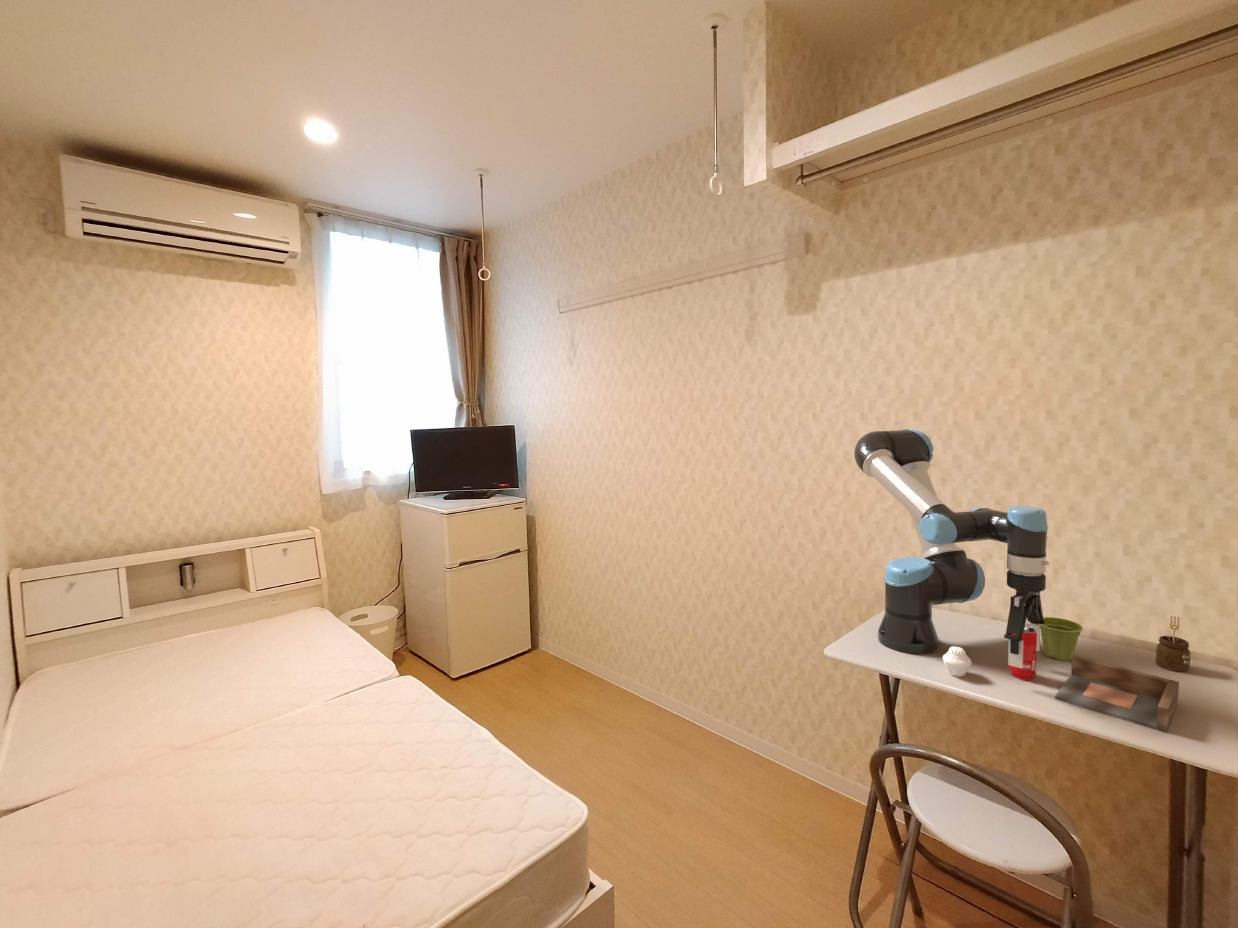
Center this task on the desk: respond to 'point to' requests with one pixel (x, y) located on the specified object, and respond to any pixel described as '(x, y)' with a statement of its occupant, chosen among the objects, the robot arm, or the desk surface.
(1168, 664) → the utensil holder
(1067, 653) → the plant pot
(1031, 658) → the beverage can
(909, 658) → the desk surface
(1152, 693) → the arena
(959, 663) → the muffin
